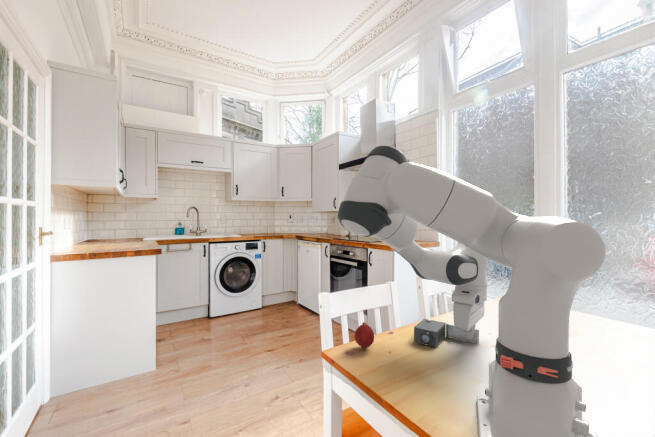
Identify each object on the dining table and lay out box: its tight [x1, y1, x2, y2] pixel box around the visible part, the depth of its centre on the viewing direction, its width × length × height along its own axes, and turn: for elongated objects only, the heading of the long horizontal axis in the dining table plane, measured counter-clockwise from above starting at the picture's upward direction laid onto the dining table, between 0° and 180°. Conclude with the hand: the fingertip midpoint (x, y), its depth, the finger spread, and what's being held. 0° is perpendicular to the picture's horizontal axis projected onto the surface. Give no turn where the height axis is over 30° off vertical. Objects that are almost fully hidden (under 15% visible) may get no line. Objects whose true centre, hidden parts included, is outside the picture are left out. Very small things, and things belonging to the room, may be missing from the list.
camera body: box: [413, 318, 447, 348], centre depth 94 cm, size 12×7×5 cm, turn 144°
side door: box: [445, 323, 480, 345], centre depth 93 cm, size 10×1×4 cm, turn 56°
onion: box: [354, 321, 375, 350], centre depth 87 cm, size 6×6×8 cm
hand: (470, 337), depth 91 cm, fingers closed
